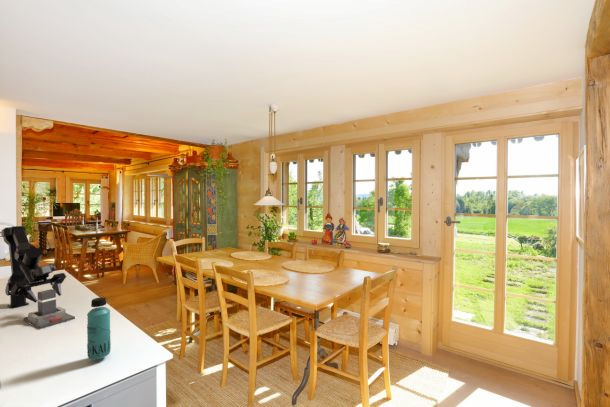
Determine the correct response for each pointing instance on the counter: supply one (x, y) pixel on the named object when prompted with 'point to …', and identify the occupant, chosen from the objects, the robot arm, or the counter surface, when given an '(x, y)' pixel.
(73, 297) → the counter surface
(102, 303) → the beverage bottle
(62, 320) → the grey socket base
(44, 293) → the plug block
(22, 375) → the counter surface
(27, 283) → the robot arm
